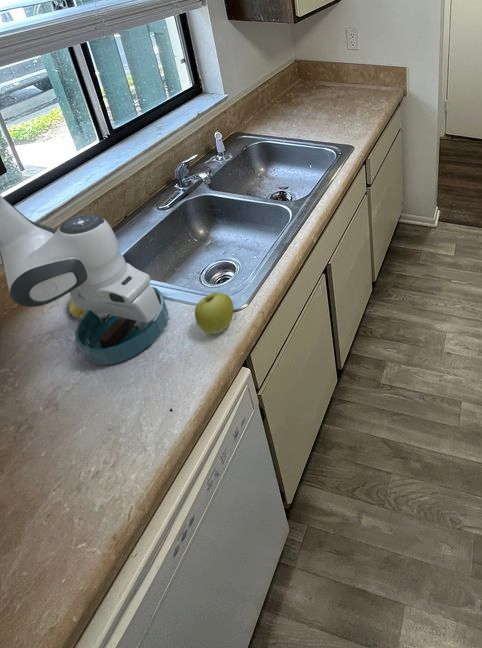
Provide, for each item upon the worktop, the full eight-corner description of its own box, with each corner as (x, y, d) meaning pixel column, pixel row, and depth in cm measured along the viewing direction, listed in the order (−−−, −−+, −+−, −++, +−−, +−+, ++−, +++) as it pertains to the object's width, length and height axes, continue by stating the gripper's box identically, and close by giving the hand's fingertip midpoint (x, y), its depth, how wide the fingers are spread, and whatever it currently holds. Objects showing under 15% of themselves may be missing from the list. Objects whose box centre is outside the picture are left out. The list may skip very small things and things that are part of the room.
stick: (111, 352, 95) (106, 341, 94) (103, 350, 96) (97, 339, 94) (148, 310, 105) (144, 299, 103) (141, 308, 105) (136, 298, 104)
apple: (239, 330, 99) (217, 303, 94) (206, 345, 98) (181, 319, 94) (242, 302, 106) (221, 276, 101) (211, 316, 105) (188, 290, 101)
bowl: (71, 377, 91) (62, 361, 89) (96, 310, 106) (89, 296, 104) (162, 352, 96) (156, 337, 94) (173, 292, 110) (168, 277, 108)
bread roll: (105, 284, 113) (101, 273, 111) (114, 305, 107) (109, 293, 105) (67, 303, 108) (61, 291, 106) (75, 326, 102) (69, 314, 100)
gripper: (53, 283, 93) (75, 327, 99) (133, 300, 89) (151, 344, 95) (79, 261, 99) (98, 304, 105) (156, 276, 94) (171, 320, 100)
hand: (124, 323), depth 100 cm, fingers open, 8 cm apart
